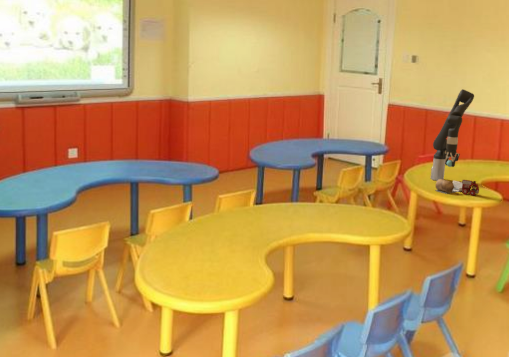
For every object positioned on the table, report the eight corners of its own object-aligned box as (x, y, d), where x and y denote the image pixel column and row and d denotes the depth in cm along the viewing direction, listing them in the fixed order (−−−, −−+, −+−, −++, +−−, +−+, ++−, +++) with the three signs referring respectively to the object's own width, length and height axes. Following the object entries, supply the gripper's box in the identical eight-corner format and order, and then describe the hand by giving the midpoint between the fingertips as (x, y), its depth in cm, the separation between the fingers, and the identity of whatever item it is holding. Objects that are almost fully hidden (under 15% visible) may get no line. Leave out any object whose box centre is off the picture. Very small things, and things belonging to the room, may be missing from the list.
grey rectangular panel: (435, 190, 481) (435, 190, 481) (453, 187, 493) (453, 187, 493) (445, 193, 473) (446, 193, 473) (464, 190, 485) (464, 190, 485)
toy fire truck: (477, 196, 468) (478, 182, 466) (459, 194, 474) (461, 180, 472) (479, 194, 474) (480, 180, 472) (461, 192, 480) (463, 178, 478)
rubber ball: (449, 165, 481) (449, 159, 480) (454, 167, 477) (455, 160, 476) (444, 166, 478) (445, 159, 477) (450, 167, 474) (450, 160, 473)
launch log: (435, 190, 481) (436, 179, 479) (442, 189, 486) (443, 178, 484) (446, 193, 473) (447, 182, 471) (453, 192, 478) (454, 181, 476)
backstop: (446, 187, 489) (447, 181, 488) (452, 186, 493) (453, 180, 492) (459, 191, 481) (459, 184, 479) (465, 190, 484) (465, 183, 483)
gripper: (463, 144, 470) (461, 167, 474) (447, 141, 481) (445, 163, 485) (456, 145, 466) (454, 168, 469) (440, 141, 477) (438, 164, 481)
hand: (449, 165), depth 477 cm, fingers closed on rubber ball, 5 cm apart
